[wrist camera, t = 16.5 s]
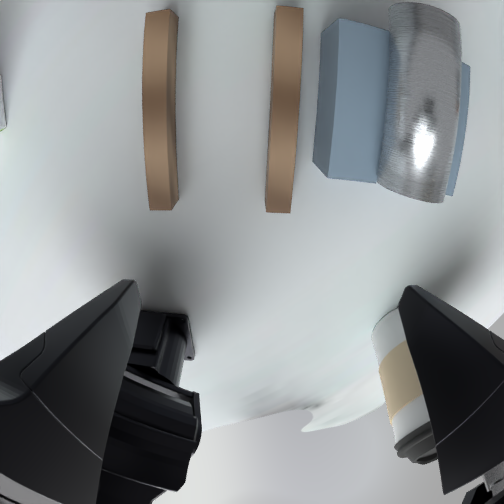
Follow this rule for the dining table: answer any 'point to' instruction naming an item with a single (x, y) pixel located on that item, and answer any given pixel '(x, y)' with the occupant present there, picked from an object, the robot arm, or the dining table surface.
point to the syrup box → (2, 109)
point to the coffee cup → (403, 392)
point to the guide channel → (163, 108)
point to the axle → (421, 101)
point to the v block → (361, 103)
